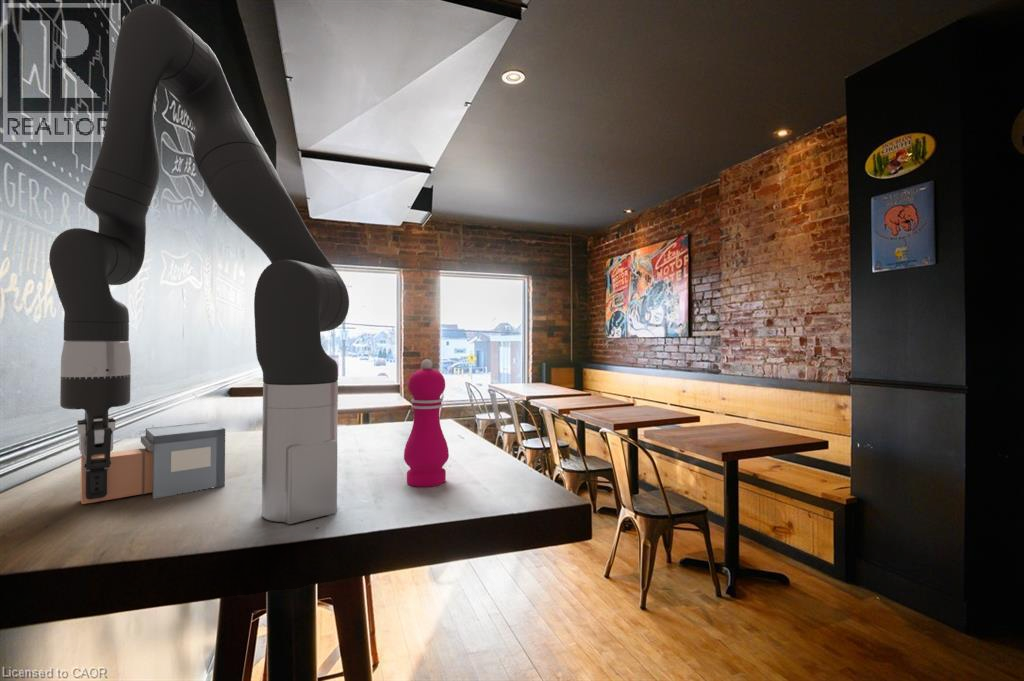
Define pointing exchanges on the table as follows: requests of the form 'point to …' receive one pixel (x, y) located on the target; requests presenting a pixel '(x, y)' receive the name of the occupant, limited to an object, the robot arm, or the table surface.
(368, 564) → the table surface
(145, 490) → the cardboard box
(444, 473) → the pepper mill
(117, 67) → the robot arm
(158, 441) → the block
